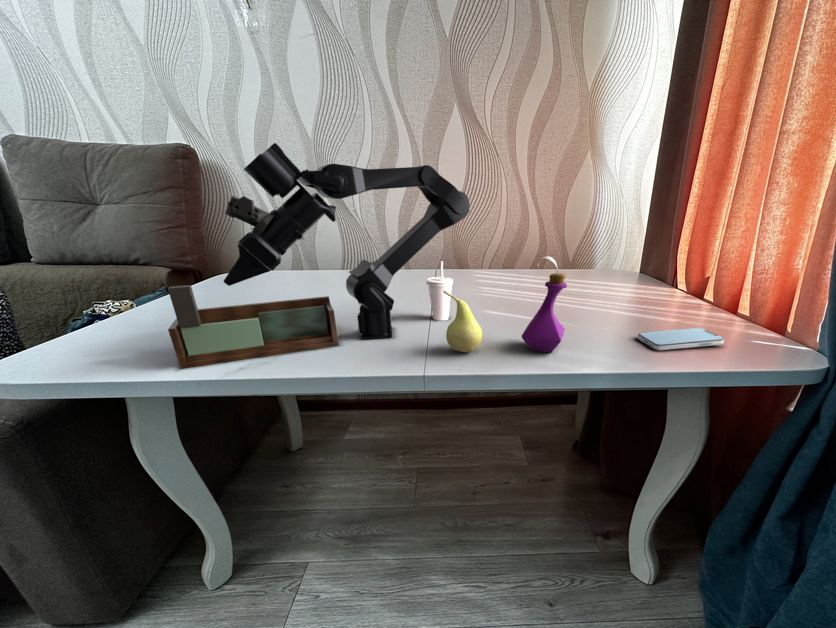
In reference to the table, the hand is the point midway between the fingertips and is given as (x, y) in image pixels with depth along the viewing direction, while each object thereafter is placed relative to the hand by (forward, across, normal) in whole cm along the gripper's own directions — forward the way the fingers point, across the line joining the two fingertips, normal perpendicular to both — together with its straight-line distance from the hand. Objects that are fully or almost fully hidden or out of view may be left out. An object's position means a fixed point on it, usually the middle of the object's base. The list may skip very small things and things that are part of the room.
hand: (230, 278), depth 67 cm
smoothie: (-23, -7, +38) cm, 45 cm away
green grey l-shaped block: (+11, +1, +9) cm, 14 cm away
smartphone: (-54, +28, +64) cm, 88 cm away
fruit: (-20, +14, +36) cm, 44 cm away
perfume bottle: (-32, +19, +46) cm, 59 cm away
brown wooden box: (+7, -2, +13) cm, 15 cm away
